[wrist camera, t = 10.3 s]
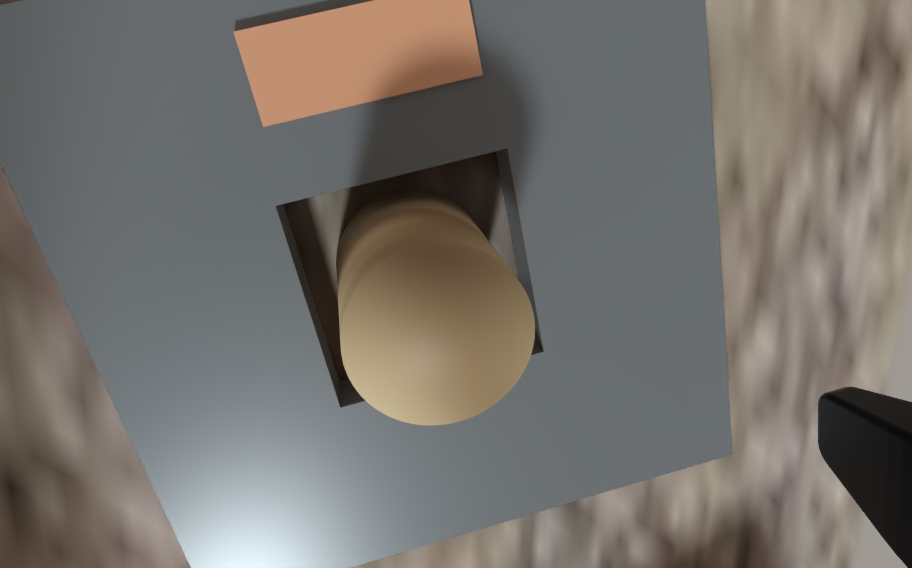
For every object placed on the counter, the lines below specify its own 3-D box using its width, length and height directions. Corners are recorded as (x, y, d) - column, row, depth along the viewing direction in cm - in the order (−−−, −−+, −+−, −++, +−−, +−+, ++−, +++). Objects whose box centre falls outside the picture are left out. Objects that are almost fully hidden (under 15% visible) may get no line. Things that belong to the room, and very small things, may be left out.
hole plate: (218, 570, 21) (209, 614, 19) (-32, 19, 15) (-74, 19, 13) (707, 427, 22) (736, 458, 21) (664, -131, 16) (700, -147, 15)
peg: (358, 345, 19) (369, 447, 15) (318, 210, 18) (315, 276, 13) (495, 308, 19) (548, 396, 15) (467, 172, 18) (517, 223, 13)
